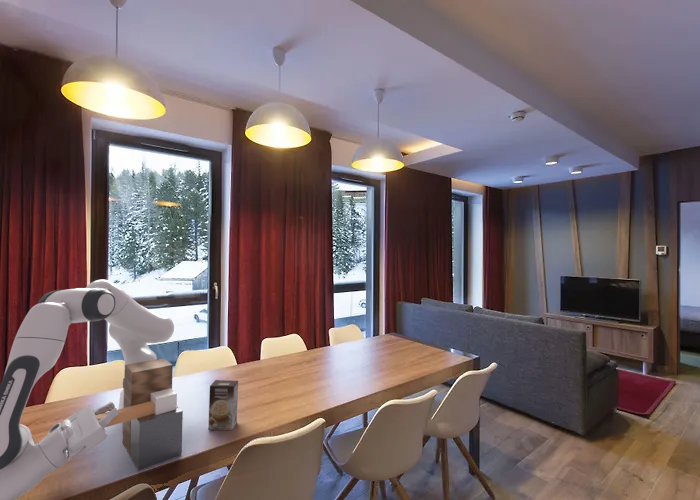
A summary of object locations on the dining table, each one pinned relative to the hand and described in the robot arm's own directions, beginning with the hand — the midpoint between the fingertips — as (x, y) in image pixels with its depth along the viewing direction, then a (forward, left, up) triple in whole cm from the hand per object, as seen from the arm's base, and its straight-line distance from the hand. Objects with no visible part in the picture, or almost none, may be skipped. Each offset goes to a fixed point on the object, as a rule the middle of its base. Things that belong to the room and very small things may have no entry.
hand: (115, 407), depth 102 cm
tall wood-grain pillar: (-16, 0, -18) cm, 24 cm away
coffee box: (-28, +22, -19) cm, 40 cm away
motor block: (-8, +8, -18) cm, 22 cm away
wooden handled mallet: (-4, +4, -4) cm, 7 cm away
